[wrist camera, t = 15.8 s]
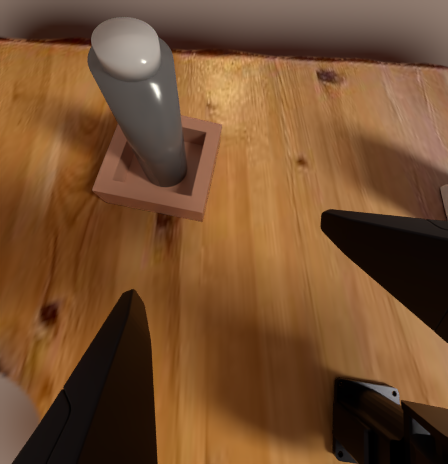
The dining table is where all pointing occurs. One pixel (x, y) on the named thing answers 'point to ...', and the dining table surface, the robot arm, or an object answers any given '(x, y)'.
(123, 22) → the pepper mill
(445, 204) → the milk carton
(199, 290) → the dining table surface
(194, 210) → the terracotta holder
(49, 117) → the dining table surface
